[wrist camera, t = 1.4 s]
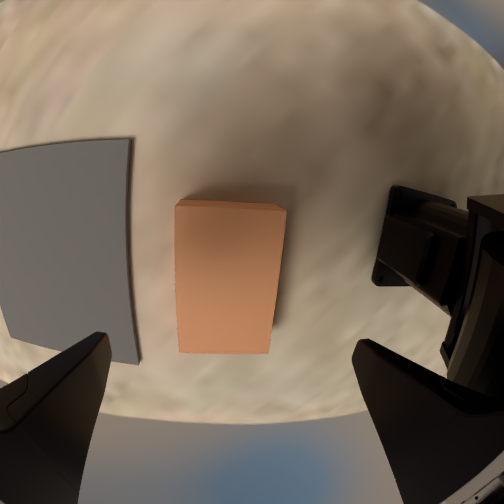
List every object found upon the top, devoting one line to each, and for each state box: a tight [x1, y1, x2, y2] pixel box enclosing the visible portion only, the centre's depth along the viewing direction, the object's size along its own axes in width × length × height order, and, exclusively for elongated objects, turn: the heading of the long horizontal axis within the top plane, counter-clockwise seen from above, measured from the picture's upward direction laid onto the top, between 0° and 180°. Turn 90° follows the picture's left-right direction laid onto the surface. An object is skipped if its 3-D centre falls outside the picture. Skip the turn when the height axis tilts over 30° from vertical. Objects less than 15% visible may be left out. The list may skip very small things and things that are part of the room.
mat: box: [0, 139, 140, 365], centre depth 13 cm, size 12×14×1 cm
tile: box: [175, 199, 287, 354], centre depth 14 cm, size 5×8×2 cm, turn 175°
